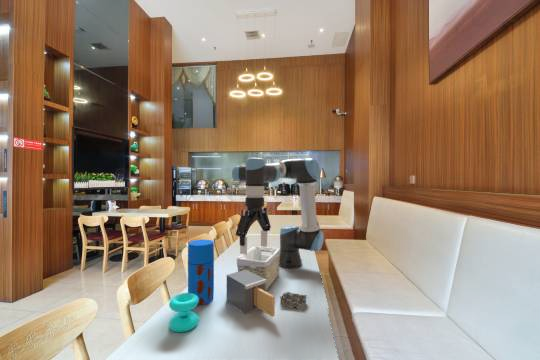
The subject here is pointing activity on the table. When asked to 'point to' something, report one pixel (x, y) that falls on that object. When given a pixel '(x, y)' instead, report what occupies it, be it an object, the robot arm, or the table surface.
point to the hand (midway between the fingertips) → (254, 250)
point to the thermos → (201, 270)
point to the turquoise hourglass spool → (184, 312)
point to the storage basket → (261, 263)
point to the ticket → (264, 301)
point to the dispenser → (243, 289)
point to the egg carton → (295, 298)
